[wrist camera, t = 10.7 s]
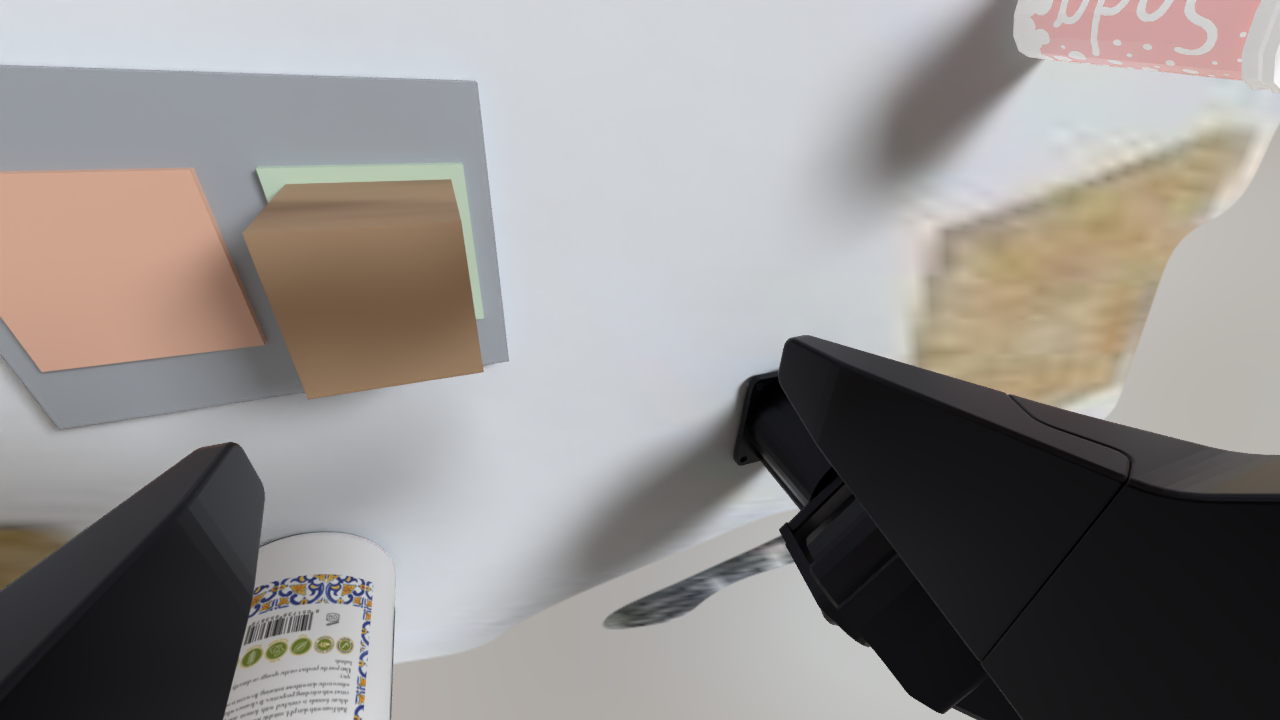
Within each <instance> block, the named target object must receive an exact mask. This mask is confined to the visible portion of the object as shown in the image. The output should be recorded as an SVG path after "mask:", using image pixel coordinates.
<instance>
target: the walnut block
mask: <svg viewBox="0 0 1280 720" xmlns="http://www.w3.org/2000/svg"><path fill="white" fill-rule="evenodd" d="M242 234H243V237H244V239H245V242H246V244H247V247H248V250H249V252H250V255H251V257H252V260H253V262H254V265H255V267H256V270H257V272H258V275H259V277H260V280H261V282H262V285H263V287H264V290H265V292H266V295H267V297H268V300H269V302H270V305H271V307H272V310H273V312H274V315H275V317H276V320H277V322H278V325H279V327H280V330H281V332H282V335H283V337H284V340H285V342H286V345H287V347H288V350H289V352H290V355H291V357H292V360H293V362H294V365H295V367H296V370H297V372H298V375H299V377H300V380H301V382H302V385H303V388H304V390H305V393H306V395H307V398H308V399H314V398H320V397H327V396H333V395H339V394H346V393H352V392H359V391H365V390H372V389H378V388H384V387H391V386H397V385H404V384H410V383H416V382H423V381H429V380H436V379H442V378H448V377H455V376H461V375H468V374H474V373H480V372H484V371H483V364H482V357H481V350H480V344H479V337H478V330H477V323H476V317H475V310H474V303H473V296H472V290H471V283H470V276H469V270H468V263H467V256H466V249H465V243H464V236H463V229H462V222H461V218H460V214H459V210H458V206H457V201H456V197H455V193H454V189H453V185H452V181H451V179H444V180H410V181H376V182H342V183H308V184H285V185H284V186H283V188H282V189H281V190H280V191H279V192H278V193H277V194H276V196H275V197H274V198H273V199H272V200H271V201H270V202H269V203H268V205H267V206H266V207H265V208H264V209H263V210H262V211H261V212H260V214H259V215H258V216H257V217H256V218H255V219H254V220H253V222H252V223H251V224H250V225H249V226H248V227H247V228H246V229H245V231H244V232H243V233H242Z"/></svg>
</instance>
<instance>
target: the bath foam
mask: <svg viewBox="0 0 1280 720" xmlns="http://www.w3.org/2000/svg"><path fill="white" fill-rule="evenodd" d="M395 588H396V572H395V567H394V563H393V561H392V559H391V557H390V556H389V555H388V553H387V552H386V551H385V550H384V549H383V548H381V547H380V546H379V545H377V544H376V543H374V542H372V541H370V540H368V539H365V538H362V537H359V536H356V535H351V534H346V533H337V532H316V533H306V534H300V535H295V536H291V537H287V538H283V539H280V540H277V541H274V542H272V543H269V544H267V545H265V546H263V547H261V548H259V554H258V563H257V572H256V580H255V588H254V594H253V600H252V605H251V609H250V614H249V618H248V622H247V626H246V630H245V634H244V638H243V642H242V646H241V650H240V654H239V658H238V662H237V666H236V670H235V674H234V678H233V682H232V686H231V690H230V694H229V698H228V702H227V706H226V710H225V714H224V718H223V720H391V711H392V684H393V656H394V628H395Z"/></svg>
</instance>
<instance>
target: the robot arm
mask: <svg viewBox="0 0 1280 720" xmlns="http://www.w3.org/2000/svg"><path fill="white" fill-rule="evenodd" d="M758 384H759V385H758ZM757 385H758V386H757ZM733 459H734V460H735V462H736V463H737V464H738V465H745V464H749V463H753V462H757V461H761V462H762V463H763V465H764V466H765V467H766V468H767V470H768V471H769V472H770V473H771V474H772V476H773V477H774V478H775V479H776V481H777V482H778V483H779V484H780V486H781V487H782V488H783V489H784V490H785V492H786V493H787V494H788V495H789V497H790V498H791V499H792V500H793V502H794V503H795V504H796V505H797V506H798V508H799V509H800V510H801V511H800V512H799V513H798V514H797V515H796V516H795V517H794V518H793V519H792V520H791V521H790V522H789V523H787V522H786V523H785V524H784V525H783V526H782V527H781V528H780V529H779V531H780V533H781V535H782V536H783V538H784V540H785V542H786V544H785V545H786V547H787V549H788V551H789V552H790V554H791V556H792V558H793V560H794V562H795V563H796V565H797V567H798V569H799V571H800V573H801V574H802V576H803V578H804V580H805V582H806V583H807V585H808V587H809V589H810V591H811V593H812V595H813V597H814V598H815V600H816V602H817V604H818V606H819V607H820V608H821V611H822V614H823V616H824V618H825V619H826V620H827V621H828V622H829V623H830V624H833V625H837V626H839V627H840V628H841V629H843V630H844V631H845V632H846V633H847V634H848V635H849V636H850V637H852V638H853V639H854V640H855V641H857V642H859V643H860V644H862V645H864V646H867V647H870V646H871V647H872V649H874V651H875V652H876V653H877V655H878V656H879V657H880V658H881V660H882V661H883V662H884V663H885V664H886V666H887V667H888V669H889V670H890V671H891V672H892V674H893V675H894V676H895V678H896V679H897V680H898V681H899V683H900V684H901V685H902V687H903V688H904V689H905V690H906V692H907V693H908V694H909V695H910V696H912V697H913V698H914V699H916V700H918V701H919V702H921V703H923V704H924V705H926V706H928V707H929V708H931V709H932V710H934V711H936V712H938V713H941V714H944V713H945V712H947V711H948V710H949V709H951V708H954V709H956V710H958V711H960V712H962V713H964V714H966V715H968V716H970V717H972V718H975V719H977V720H1280V455H1260V454H1248V453H1240V452H1232V451H1227V450H1222V449H1217V448H1213V447H1208V446H1204V445H1200V444H1196V443H1192V442H1188V441H1184V440H1180V439H1176V438H1172V437H1168V436H1164V435H1161V434H1156V433H1153V432H1149V431H1145V430H1140V429H1137V428H1132V427H1129V426H1125V425H1121V424H1117V423H1113V422H1109V421H1105V420H1101V419H1098V418H1094V417H1090V416H1086V415H1082V414H1078V413H1075V412H1071V411H1067V410H1064V409H1060V408H1057V407H1053V406H1050V405H1046V404H1042V403H1039V402H1035V401H1032V400H1028V399H1025V398H1022V397H1018V396H1015V395H1011V394H1009V395H1007V394H1006V393H1004V392H1001V391H997V390H994V389H991V388H987V387H984V386H980V385H977V384H974V383H970V382H967V381H963V380H960V379H956V378H953V377H950V376H946V375H943V374H939V373H936V372H933V371H929V370H926V369H922V368H919V367H915V366H912V365H909V364H905V363H902V362H898V361H895V360H892V359H888V358H885V357H881V356H878V355H874V354H871V353H868V352H864V351H861V350H857V349H854V348H851V347H847V346H844V345H840V344H837V343H833V342H830V341H827V340H823V339H820V338H816V337H813V336H809V335H803V336H798V337H793V338H789V339H788V340H787V341H786V343H785V345H784V348H783V353H782V358H781V362H780V367H779V371H778V372H773V373H767V374H762V375H757V376H755V377H753V378H752V379H751V380H750V382H749V385H748V389H747V394H746V399H745V404H744V409H743V413H742V418H741V423H740V428H739V432H738V437H737V442H736V447H735V451H734V456H733ZM264 502H265V492H264V487H263V484H262V482H261V480H260V478H259V477H258V475H257V473H256V471H255V469H254V468H253V466H252V464H251V462H250V461H249V459H248V457H247V455H246V453H245V452H244V450H243V449H242V447H241V446H240V445H238V444H236V443H233V442H228V443H223V444H217V445H212V446H207V447H202V448H199V449H197V450H195V451H193V452H192V453H191V454H189V455H188V456H187V457H185V458H184V459H182V460H181V461H180V462H178V463H177V464H175V465H174V466H173V467H171V468H170V469H169V470H167V471H166V472H164V473H163V474H162V475H160V476H159V477H157V478H156V479H155V480H153V481H152V482H151V483H149V484H148V485H146V486H145V487H144V488H142V489H141V490H139V491H138V492H137V493H135V494H134V495H132V496H131V497H130V498H128V499H127V500H126V501H124V502H123V503H121V504H120V505H119V506H117V507H116V508H114V509H113V510H112V511H110V512H109V513H108V514H106V515H105V516H103V517H102V518H101V519H99V520H98V521H96V522H95V523H94V524H92V525H91V526H90V527H88V528H87V529H85V530H84V531H83V532H81V533H80V534H78V535H77V536H76V537H74V538H73V539H72V540H70V541H69V542H67V543H66V544H65V545H63V546H62V547H60V548H59V549H58V550H56V551H55V552H53V553H52V554H51V555H49V556H48V557H47V558H45V559H44V560H42V561H41V562H40V563H38V564H37V565H35V566H34V567H33V568H31V569H30V570H29V571H27V572H26V573H24V574H23V575H22V576H20V577H19V578H17V579H16V580H15V581H13V582H12V583H11V584H9V585H8V586H6V587H5V588H4V589H2V590H1V591H0V720H223V718H224V714H225V710H226V706H227V702H228V698H229V694H230V690H231V686H232V682H233V678H234V674H235V670H236V666H237V662H238V658H239V654H240V650H241V646H242V642H243V638H244V634H245V630H246V626H247V622H248V618H249V614H250V609H251V605H252V600H253V594H254V588H255V580H256V572H257V563H258V554H259V545H260V537H261V528H262V519H263V510H264Z"/></svg>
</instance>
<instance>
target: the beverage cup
mask: <svg viewBox="0 0 1280 720" xmlns="http://www.w3.org/2000/svg"><path fill="white" fill-rule="evenodd" d="M1013 36H1014V39H1015V42H1016V45H1017V48H1018V50H1019V51H1020V52H1021V53H1023V54H1024V55H1026V56H1028V57H1030V58H1039V59H1048V60H1057V61H1067V62H1076V63H1085V64H1094V65H1103V66H1113V67H1122V68H1131V69H1140V70H1149V71H1159V72H1168V73H1177V74H1186V75H1196V76H1205V77H1214V78H1223V79H1232V80H1242V81H1244V82H1245V83H1246V84H1247V85H1248V86H1249V87H1250V88H1251V89H1252V90H1263V89H1270V90H1271V91H1272V92H1273V93H1280V0H1018V3H1017V6H1016V10H1015V13H1014V32H1013Z"/></svg>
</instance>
